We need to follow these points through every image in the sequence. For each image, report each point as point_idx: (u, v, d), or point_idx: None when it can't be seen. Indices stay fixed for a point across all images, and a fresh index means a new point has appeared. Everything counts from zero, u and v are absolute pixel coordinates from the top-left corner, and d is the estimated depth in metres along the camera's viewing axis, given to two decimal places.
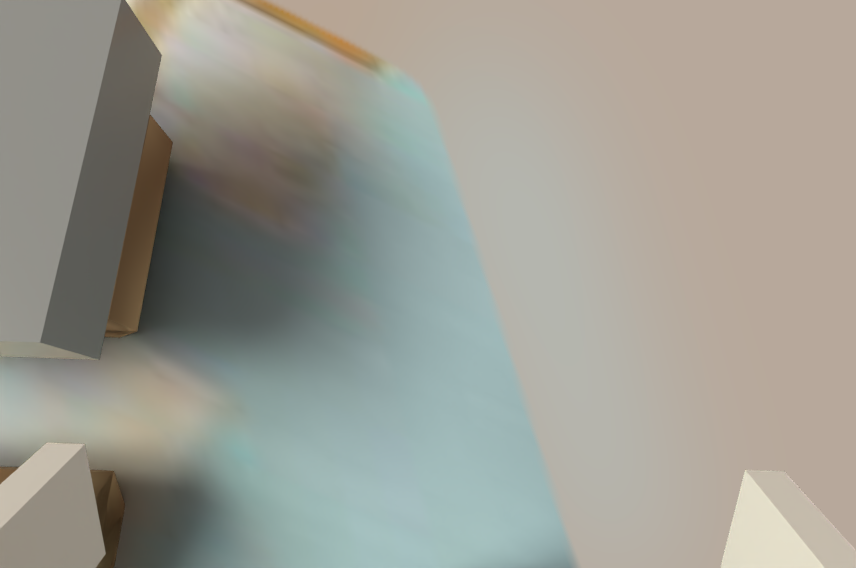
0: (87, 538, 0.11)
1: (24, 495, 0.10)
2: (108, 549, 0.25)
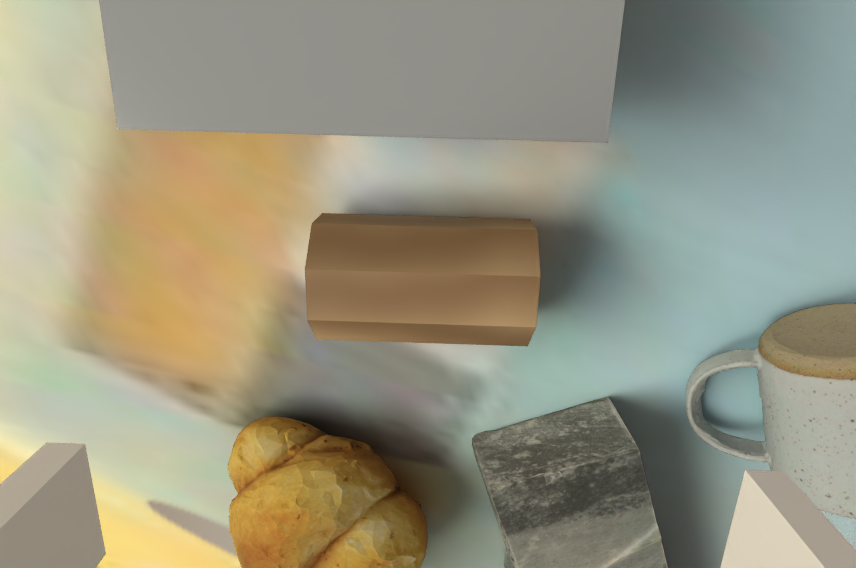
0: (87, 538, 0.11)
1: (24, 495, 0.10)
2: None
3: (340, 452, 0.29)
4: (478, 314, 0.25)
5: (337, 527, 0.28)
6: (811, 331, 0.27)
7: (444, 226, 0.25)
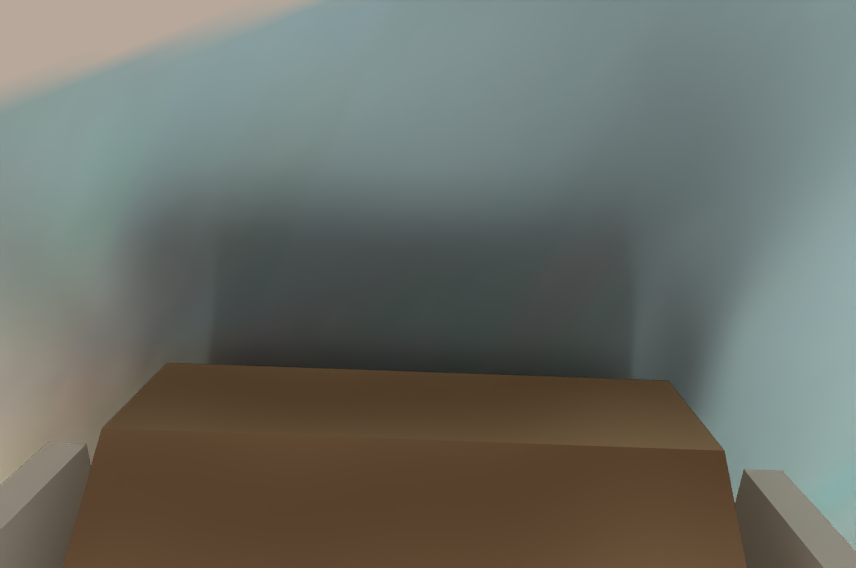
0: None
1: (26, 494, 0.10)
2: None
3: None
4: None
5: None
6: None
7: (467, 435, 0.09)
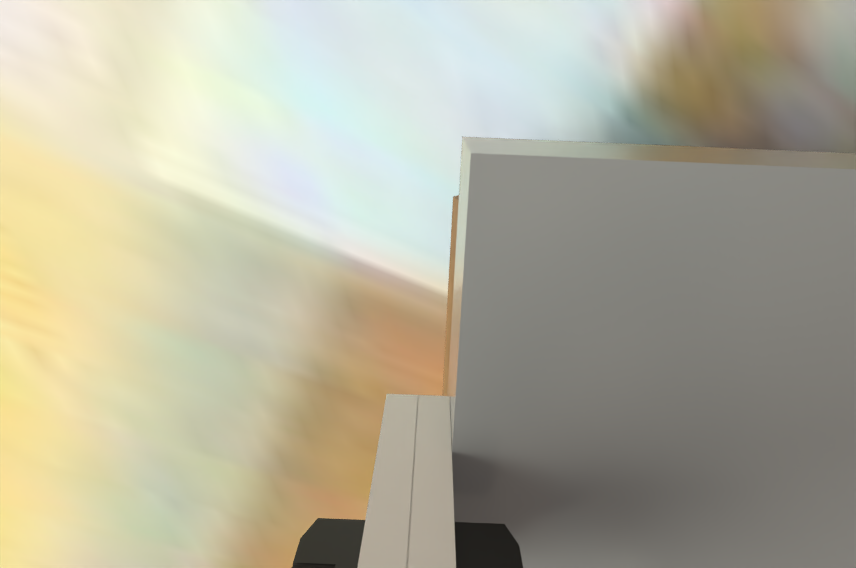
0: None
1: (408, 430, 0.12)
2: None
3: None
4: None
5: None
6: None
7: None
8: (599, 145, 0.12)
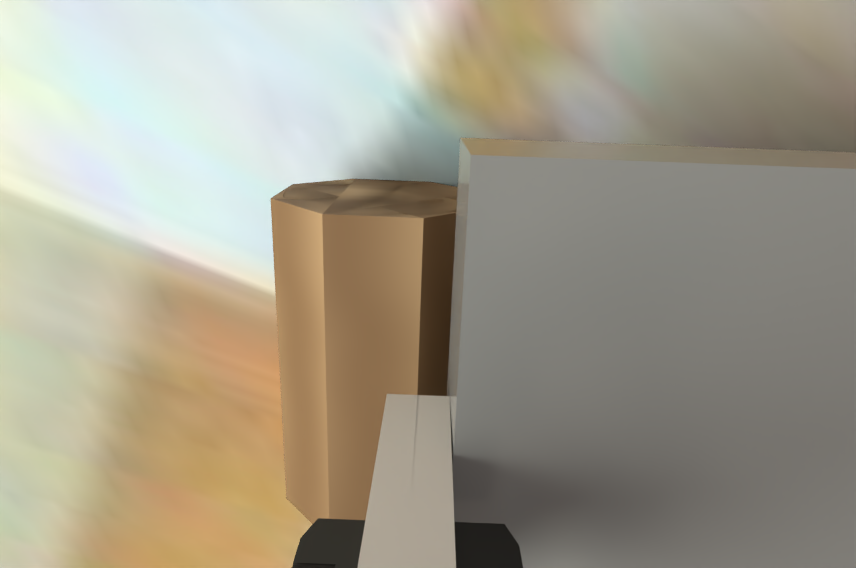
0: None
1: (409, 430, 0.12)
2: None
3: None
4: None
5: None
6: None
7: None
8: (598, 145, 0.12)
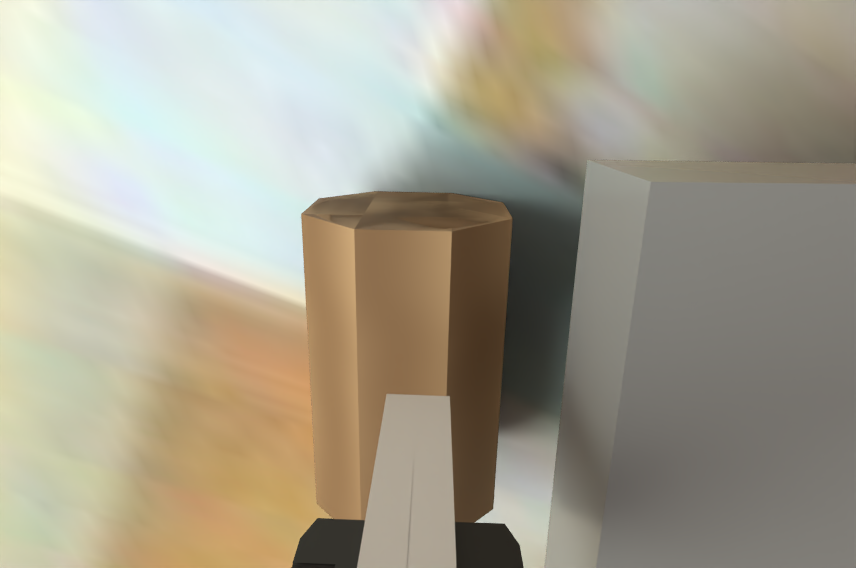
0: None
1: (408, 430, 0.12)
2: None
3: None
4: None
5: None
6: None
7: None
8: (724, 165, 0.13)
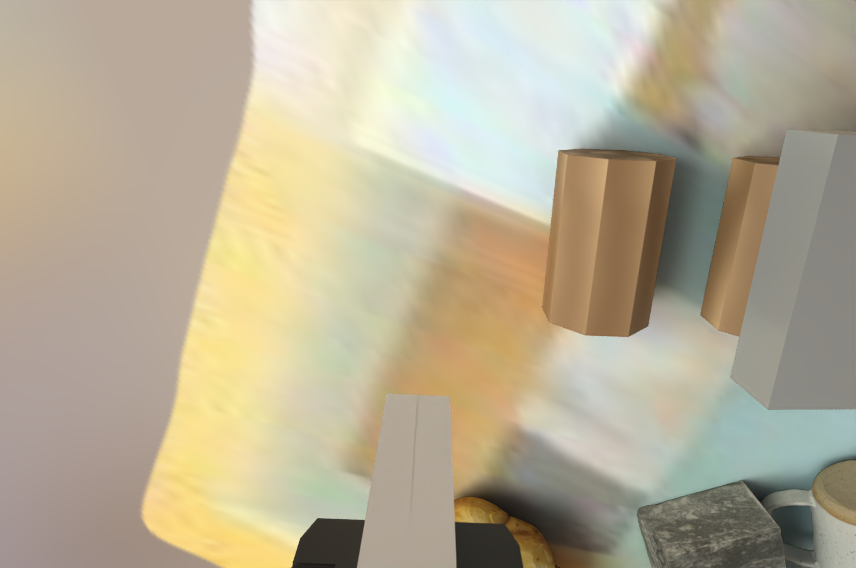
0: None
1: (408, 430, 0.12)
2: None
3: (529, 536, 0.41)
4: None
5: None
6: (851, 484, 0.39)
7: None
8: None
